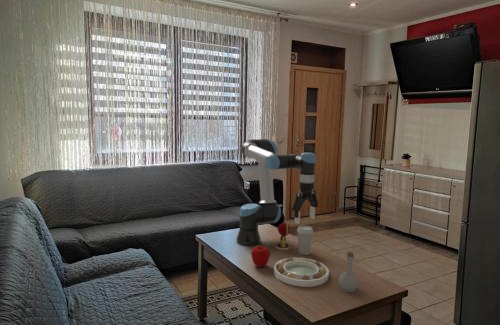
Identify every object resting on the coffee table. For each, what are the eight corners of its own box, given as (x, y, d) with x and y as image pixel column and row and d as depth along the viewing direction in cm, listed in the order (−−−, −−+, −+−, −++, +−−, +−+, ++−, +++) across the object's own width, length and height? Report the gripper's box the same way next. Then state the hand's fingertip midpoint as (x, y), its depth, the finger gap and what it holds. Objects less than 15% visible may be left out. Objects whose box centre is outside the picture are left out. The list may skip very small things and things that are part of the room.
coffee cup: (311, 250, 207) (312, 225, 205) (313, 256, 198) (314, 230, 196) (295, 249, 208) (296, 224, 206) (296, 255, 199) (297, 229, 197)
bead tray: (262, 272, 175) (263, 264, 174) (297, 258, 193) (297, 251, 193) (305, 292, 155) (305, 283, 155) (339, 275, 174) (339, 267, 173)
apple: (247, 265, 183) (247, 245, 182) (260, 260, 190) (261, 241, 188) (259, 271, 176) (260, 251, 175) (273, 266, 182) (273, 246, 181)
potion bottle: (334, 288, 160) (337, 251, 158) (344, 282, 166) (347, 246, 164) (352, 295, 154) (354, 256, 152) (361, 289, 160) (364, 251, 158)
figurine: (291, 249, 207) (292, 225, 205) (275, 249, 207) (276, 225, 205) (290, 244, 215) (291, 221, 213) (274, 244, 215) (274, 220, 213)
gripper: (298, 185, 172) (296, 227, 175) (325, 180, 189) (323, 218, 192) (286, 183, 177) (284, 223, 180) (314, 178, 195) (312, 215, 198)
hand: (304, 220), depth 186 cm, fingers open, 13 cm apart
